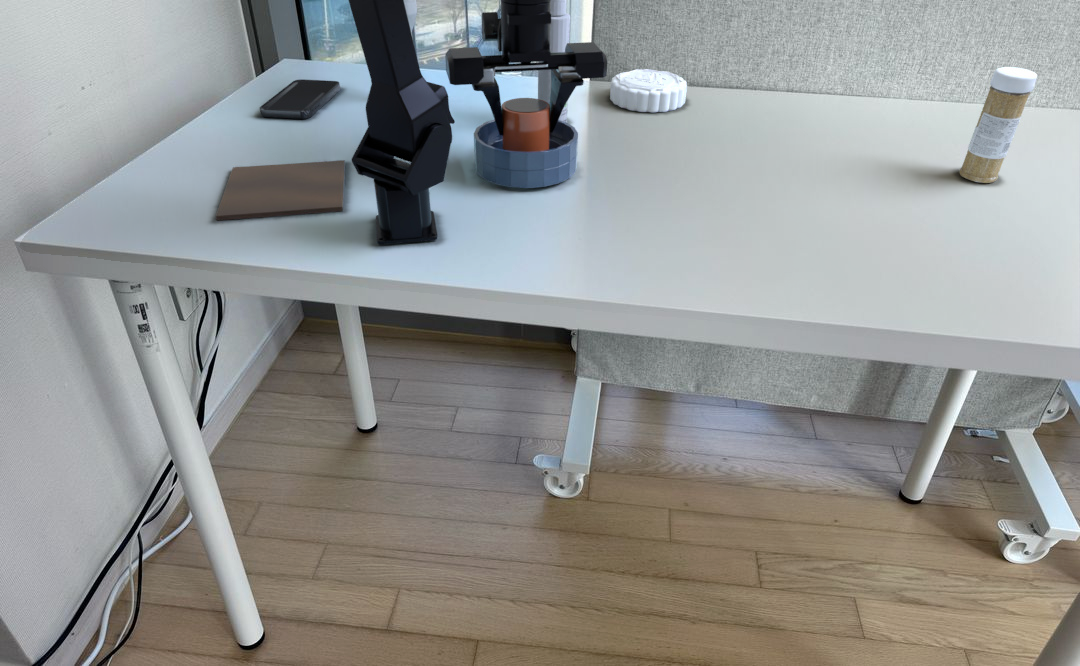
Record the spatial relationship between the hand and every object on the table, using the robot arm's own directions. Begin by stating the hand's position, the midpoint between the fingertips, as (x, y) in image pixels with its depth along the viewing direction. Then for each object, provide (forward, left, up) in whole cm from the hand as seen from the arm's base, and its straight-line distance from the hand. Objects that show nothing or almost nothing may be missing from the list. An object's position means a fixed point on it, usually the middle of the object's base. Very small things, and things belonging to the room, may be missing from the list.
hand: (526, 132), depth 94 cm
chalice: (+31, +14, -5) cm, 34 cm away
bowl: (0, 0, -5) cm, 5 cm away
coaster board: (-1, +30, -5) cm, 30 cm away
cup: (0, 0, -4) cm, 4 cm away
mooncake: (+24, -24, -5) cm, 34 cm away
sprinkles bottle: (-12, -57, -5) cm, 58 cm away
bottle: (+17, -7, -5) cm, 19 cm away
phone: (+32, +30, -5) cm, 44 cm away
